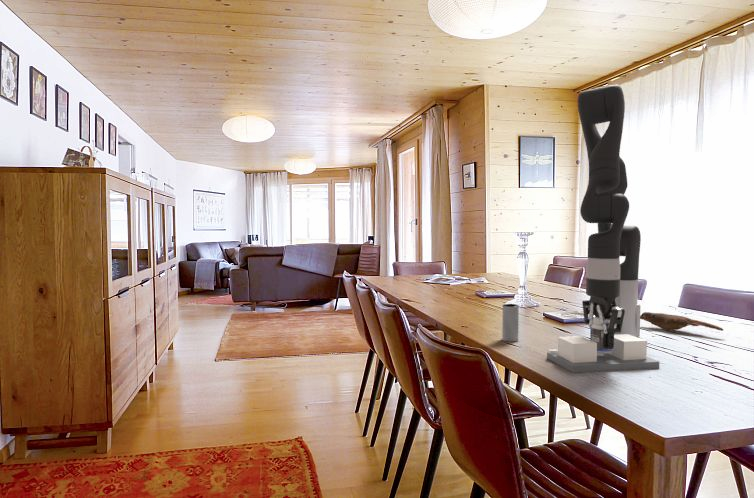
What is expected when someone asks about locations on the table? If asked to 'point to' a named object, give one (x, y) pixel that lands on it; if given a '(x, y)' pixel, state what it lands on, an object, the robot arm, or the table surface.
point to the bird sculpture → (673, 321)
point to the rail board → (601, 354)
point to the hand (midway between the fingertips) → (601, 345)
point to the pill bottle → (598, 335)
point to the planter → (510, 322)
